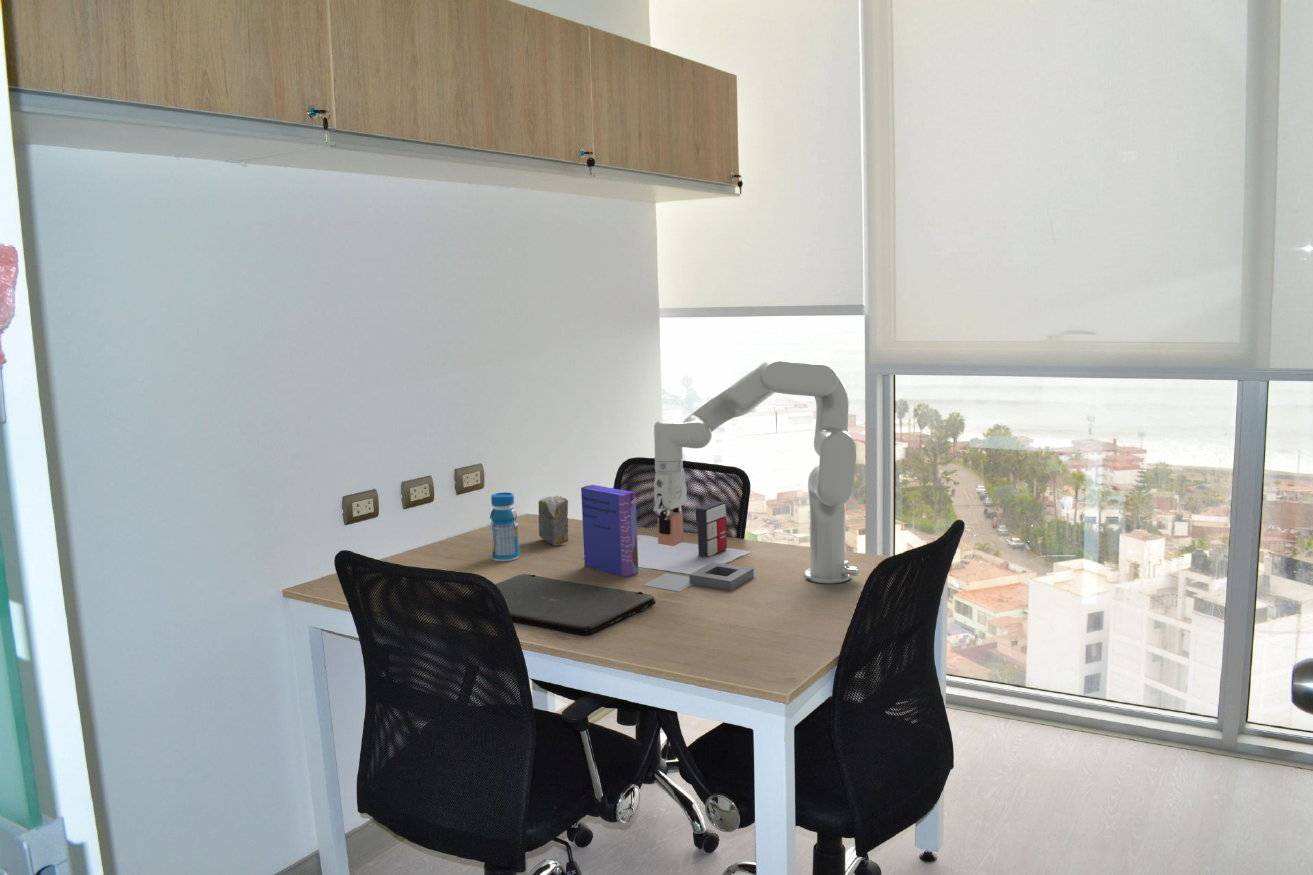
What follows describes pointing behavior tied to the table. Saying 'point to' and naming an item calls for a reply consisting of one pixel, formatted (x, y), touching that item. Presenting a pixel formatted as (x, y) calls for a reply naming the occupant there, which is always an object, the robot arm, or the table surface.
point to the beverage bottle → (504, 527)
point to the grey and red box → (711, 528)
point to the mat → (670, 582)
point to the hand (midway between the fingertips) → (670, 530)
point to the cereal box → (610, 530)
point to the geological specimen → (553, 520)
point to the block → (672, 530)
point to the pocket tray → (721, 576)
